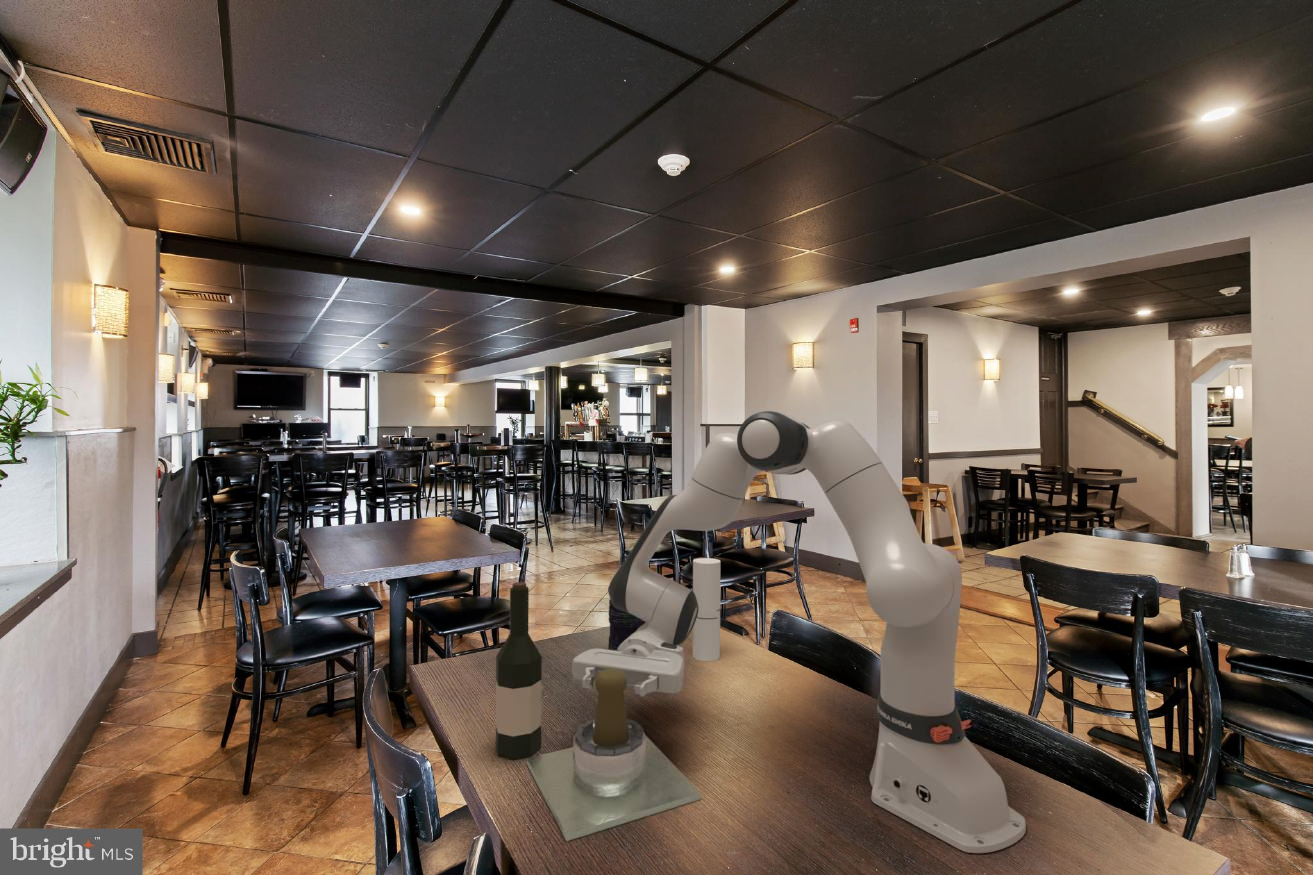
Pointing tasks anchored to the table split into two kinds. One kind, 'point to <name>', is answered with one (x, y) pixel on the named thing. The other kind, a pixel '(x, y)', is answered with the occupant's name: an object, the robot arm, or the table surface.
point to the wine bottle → (518, 684)
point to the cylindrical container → (707, 609)
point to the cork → (611, 709)
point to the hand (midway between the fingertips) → (612, 687)
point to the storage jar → (621, 626)
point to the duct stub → (608, 782)
